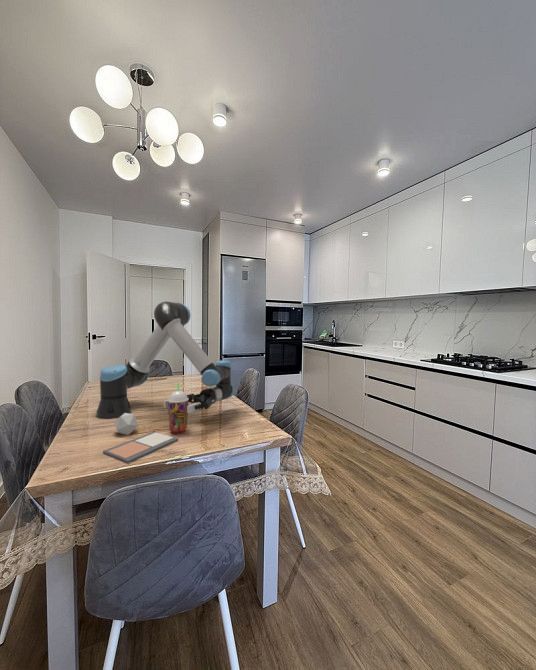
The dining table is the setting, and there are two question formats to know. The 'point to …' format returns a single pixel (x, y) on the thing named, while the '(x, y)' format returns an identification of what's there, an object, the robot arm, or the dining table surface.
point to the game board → (140, 447)
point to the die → (126, 423)
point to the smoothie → (178, 411)
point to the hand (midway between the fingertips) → (175, 407)
